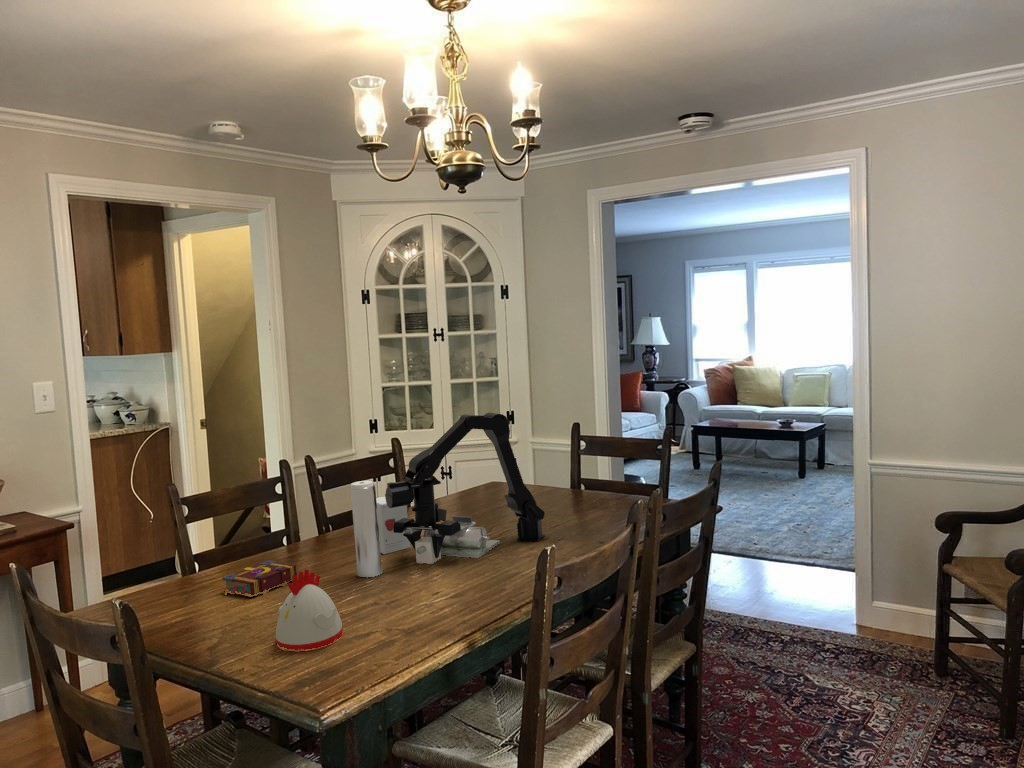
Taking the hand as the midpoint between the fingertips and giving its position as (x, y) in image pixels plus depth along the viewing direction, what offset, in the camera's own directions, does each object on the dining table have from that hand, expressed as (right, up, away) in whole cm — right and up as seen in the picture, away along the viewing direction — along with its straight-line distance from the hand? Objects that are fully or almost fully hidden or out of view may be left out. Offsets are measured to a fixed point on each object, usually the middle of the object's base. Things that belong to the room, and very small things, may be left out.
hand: (428, 557), depth 217 cm
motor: (+8, 0, +10) cm, 12 cm away
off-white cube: (0, -1, 0) cm, 1 cm away
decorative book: (-43, -6, -13) cm, 45 cm away
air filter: (-15, -3, -8) cm, 17 cm away
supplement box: (-13, -1, +15) cm, 20 cm away
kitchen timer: (-20, -7, -50) cm, 54 cm away
